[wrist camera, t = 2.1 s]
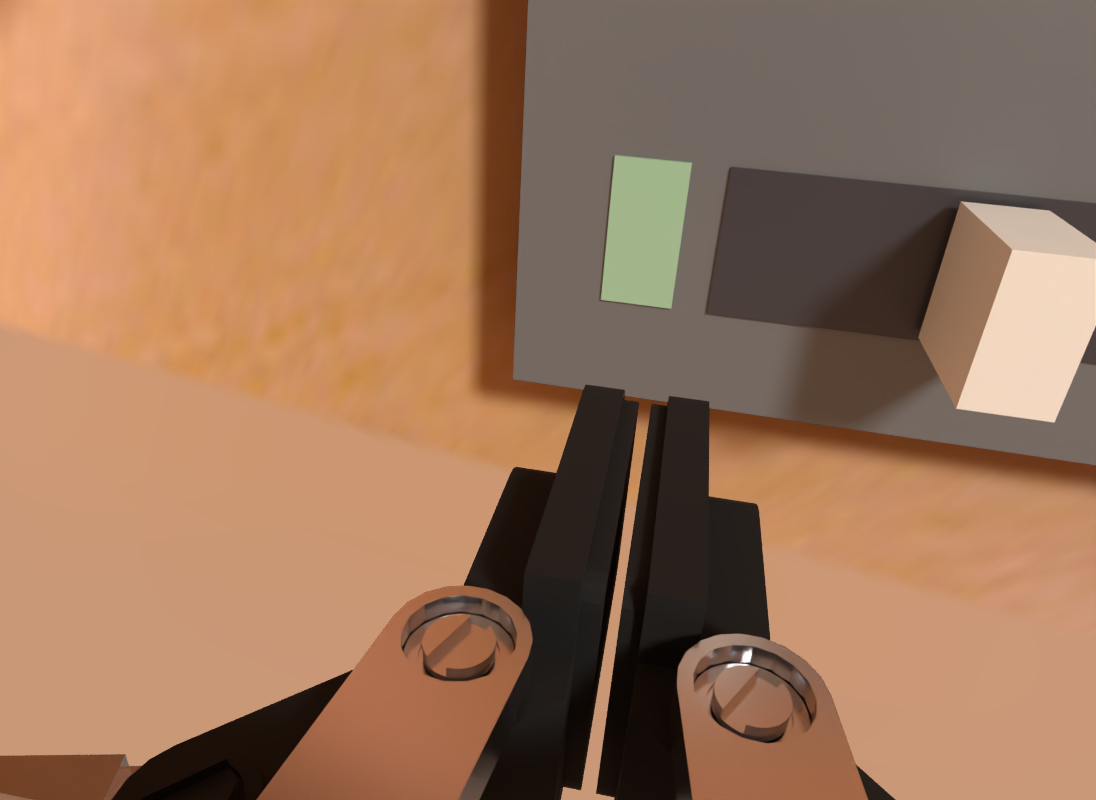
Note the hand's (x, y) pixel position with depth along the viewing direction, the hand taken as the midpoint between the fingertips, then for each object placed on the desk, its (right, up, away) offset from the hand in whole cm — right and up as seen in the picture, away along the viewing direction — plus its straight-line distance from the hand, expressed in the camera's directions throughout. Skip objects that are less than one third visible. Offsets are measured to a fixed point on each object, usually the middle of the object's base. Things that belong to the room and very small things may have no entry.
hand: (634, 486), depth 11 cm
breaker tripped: (+10, +4, +9) cm, 14 cm away
